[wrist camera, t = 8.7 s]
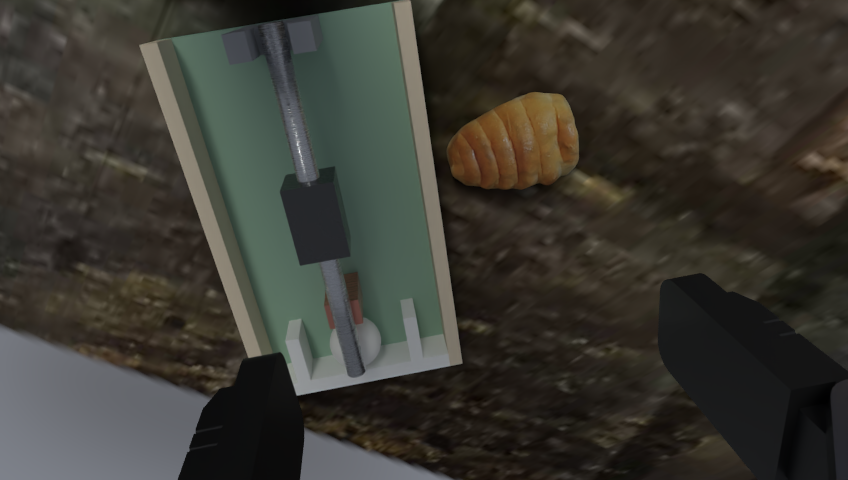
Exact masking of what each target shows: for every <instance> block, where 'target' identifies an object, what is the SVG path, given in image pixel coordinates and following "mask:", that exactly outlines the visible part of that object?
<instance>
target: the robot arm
mask: <svg viewBox="0 0 848 480" xmlns="http://www.w3.org/2000/svg"><path fill="white" fill-rule="evenodd" d="M658 346H659V351H660V355H661V358H662V360H663V363H664V365H665V366H666V368H667V369H668V371H669V372H670V373H671V374H672V376H673V377H674V378H675V379H676V381H677V382H678V383H679V384H680V385H681V387H682V388H683V389H684V390H685V391H686V393H687V394H688V395H689V396H690V398H691V399H692V400H693V401H694V402H695V404H696V405H697V406H698V407H699V408H700V410H701V411H702V412H703V413H704V415H705V416H706V417H707V418H708V419H709V421H710V422H711V423H712V424H713V425H714V427H715V428H716V429H717V430H718V432H719V433H720V434H721V435H722V436H723V438H724V439H725V440H726V441H727V442H728V444H729V445H730V446H731V447H732V449H733V450H734V451H735V452H736V453H737V455H738V456H739V457H740V458H741V459H742V461H743V462H744V463H745V464H746V466H747V467H748V468H749V469H750V470H751V472H752V473H753V474H754V475H755V476H756V478H757V479H758V480H848V371H847V370H845V369H844V368H843V367H842V366H840V365H839V364H838V363H836V362H835V361H834V360H833V359H831V358H830V357H829V356H827V355H826V354H825V353H824V352H822V351H821V350H820V349H818V348H817V347H816V346H815V345H813V344H812V343H811V342H809V341H808V340H807V339H805V338H804V337H803V336H802V335H800V334H796V333H795V330H794V329H793V328H791V327H790V326H789V325H787V324H786V323H785V322H784V321H779V318H778V317H777V316H776V315H774V314H773V313H772V312H771V311H769V310H768V309H767V308H765V307H764V306H763V305H762V304H760V303H759V302H757V301H754V300H752V299H749V298H747V297H745V296H742V295H740V294H738V293H735V292H728V293H727V292H726V291H725V290H723V289H722V288H721V287H720V286H719V285H717V284H716V283H715V282H714V281H712V280H711V279H710V278H709V277H707V276H706V275H704V274H702V273H699V274H694V275H688V276H683V277H678V278H672V279H667V280H665V281H663V283H662V285H661V288H660V306H659V328H658ZM303 446H304V423H303V417H302V412H301V408H300V405H299V402H298V398H297V395H296V392H295V389H294V386H293V383H292V379H291V376H290V373H289V370H288V367H287V363H286V360H285V358H284V356H283V354H282V353H281V352H277V353H272V354H267V355H261V356H256V357H251V358H245V359H243V361H242V363H241V366H240V369H239V372H238V376H237V379H236V382H235V386H232V387H226V388H221V389H219V390H218V392H217V393H216V394H215V395H214V396H213V398H212V399H211V400H210V401H209V402H208V404H207V405H206V406H205V407H204V408H203V410H202V413H201V416H200V419H199V422H198V424H197V427H196V434H194V435H193V438H192V441H191V444H190V447H189V448H190V451H189V452H187V455H186V458H185V461H184V463H183V466H182V469H181V472H180V475H179V477H178V480H300V474H301V464H302V455H303Z"/></svg>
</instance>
